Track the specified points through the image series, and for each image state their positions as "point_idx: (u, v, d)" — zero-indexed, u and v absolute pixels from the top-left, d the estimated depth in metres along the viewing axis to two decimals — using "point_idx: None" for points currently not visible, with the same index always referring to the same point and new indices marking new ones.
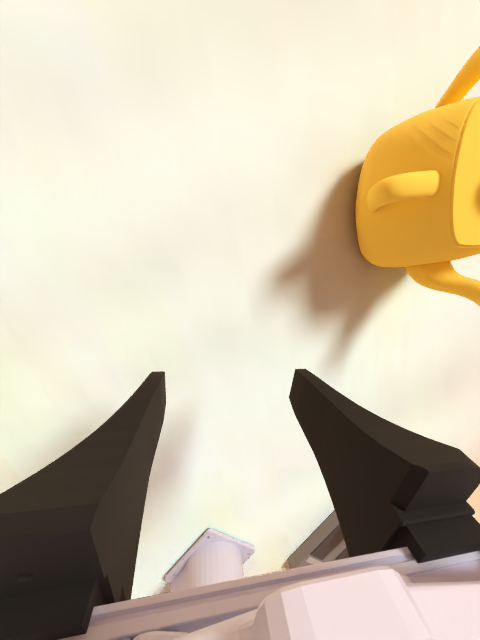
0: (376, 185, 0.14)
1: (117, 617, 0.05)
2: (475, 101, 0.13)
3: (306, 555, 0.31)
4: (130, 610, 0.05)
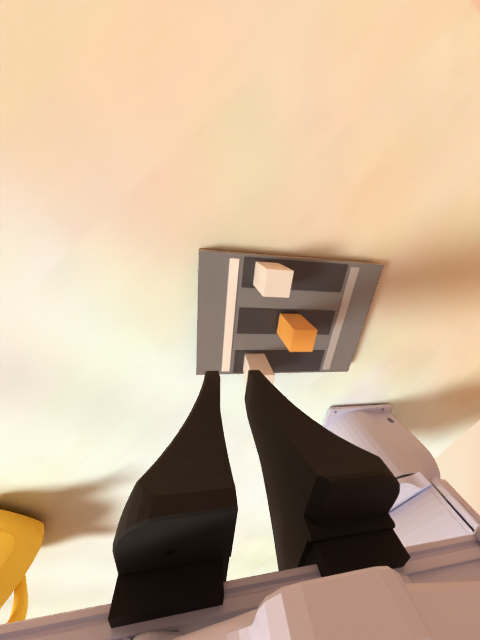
0: None
1: (244, 591, 0.05)
2: None
3: (322, 371, 0.25)
4: None
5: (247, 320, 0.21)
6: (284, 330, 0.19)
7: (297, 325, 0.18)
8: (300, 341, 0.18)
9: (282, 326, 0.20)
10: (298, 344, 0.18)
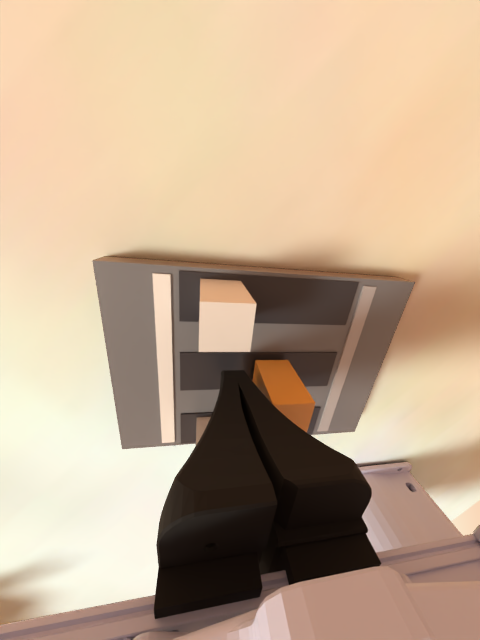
0: None
1: (279, 584, 0.05)
2: None
3: (317, 433, 0.17)
4: (130, 610, 0.05)
5: (195, 370, 0.13)
6: None
7: (280, 391, 0.10)
8: None
9: (258, 384, 0.12)
10: None
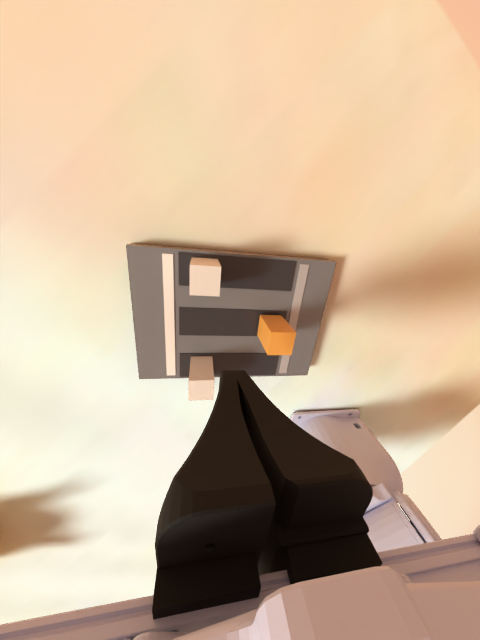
0: None
1: (277, 584, 0.05)
2: None
3: (279, 375, 0.23)
4: (130, 610, 0.05)
5: (189, 320, 0.19)
6: (263, 333, 0.18)
7: (275, 327, 0.17)
8: (278, 344, 0.17)
9: (261, 328, 0.19)
10: (276, 347, 0.17)
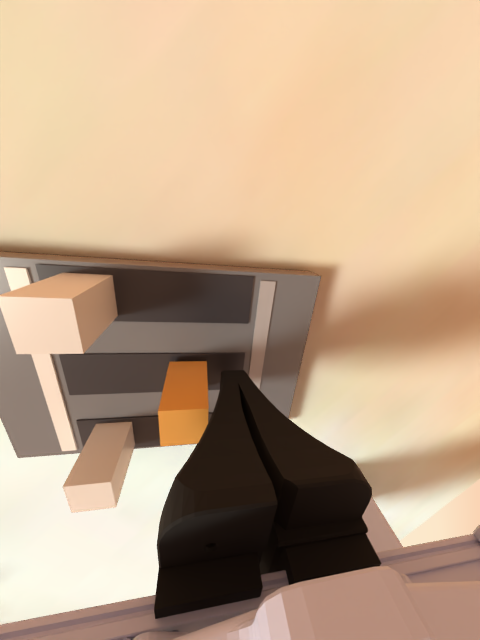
0: None
1: (279, 584, 0.05)
2: None
3: None
4: (130, 610, 0.05)
5: (83, 373, 0.12)
6: None
7: (175, 395, 0.10)
8: (178, 429, 0.09)
9: None
10: (175, 433, 0.09)
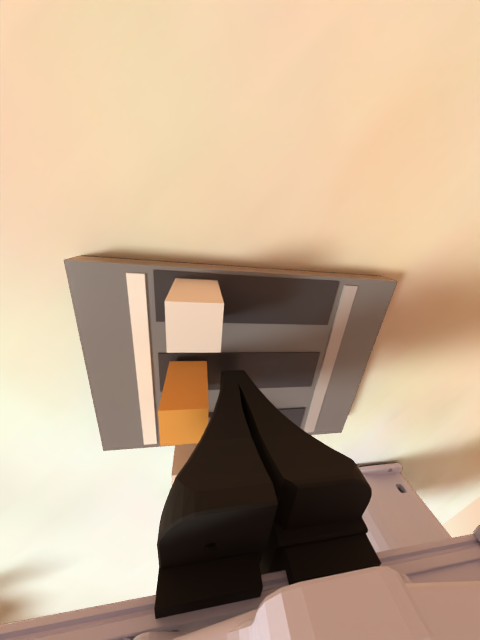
0: None
1: (279, 584, 0.05)
2: None
3: None
4: (130, 610, 0.05)
5: None
6: None
7: (175, 395, 0.10)
8: (178, 428, 0.09)
9: None
10: (174, 433, 0.09)
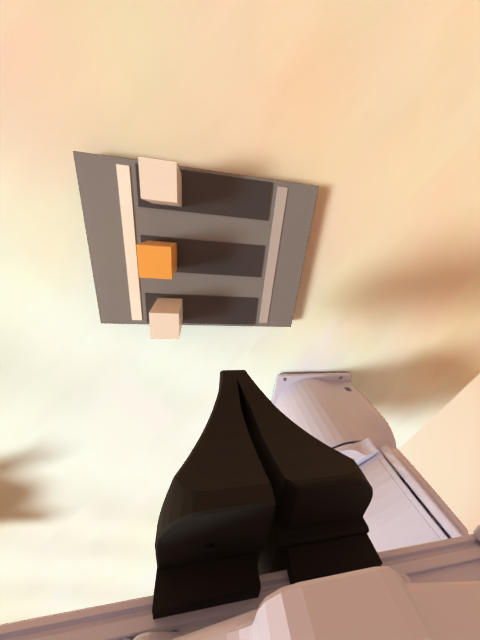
0: None
1: (277, 584, 0.05)
2: None
3: (259, 325, 0.21)
4: (130, 610, 0.05)
5: None
6: None
7: (149, 244, 0.14)
8: (150, 263, 0.14)
9: None
10: (148, 267, 0.14)
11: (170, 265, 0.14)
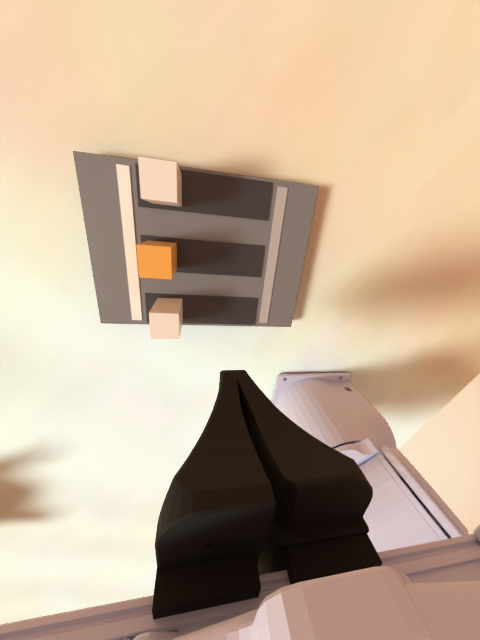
0: None
1: (277, 584, 0.05)
2: None
3: (259, 325, 0.21)
4: (130, 610, 0.05)
5: None
6: None
7: (149, 244, 0.14)
8: (150, 263, 0.14)
9: None
10: (148, 267, 0.14)
11: (170, 265, 0.14)
